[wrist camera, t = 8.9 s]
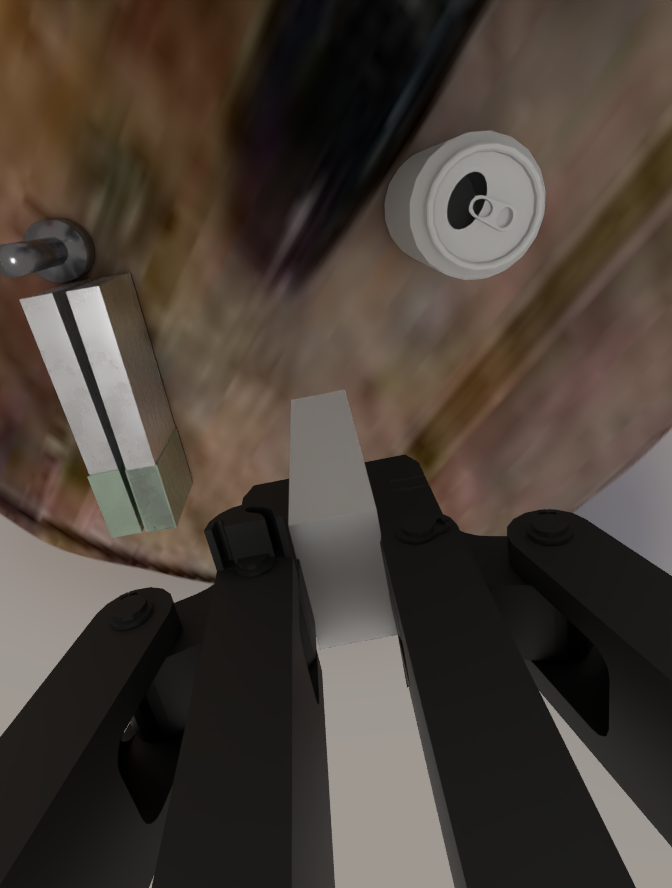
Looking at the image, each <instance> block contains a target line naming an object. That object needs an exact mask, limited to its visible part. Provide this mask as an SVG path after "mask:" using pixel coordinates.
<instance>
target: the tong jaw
mask: <svg viewBox="0 0 672 888" xmlns="http://www.w3.org/2000/svg"><path fill="white" fill-rule="evenodd" d="M66 294H67V297H68V300H69V303H70V306H71V308H72V311H73V314H74V317H75V320H76V323H77V326H78V329H79V332H80V335H81V338H82V341H83V344H84V347H85V350H86V353H87V356H88V359H89V362H90V364H91V367H92V370H93V373H94V376H95V379H96V382H97V385H98V388H99V391H100V394H101V397H102V400H103V403H104V406H105V409H106V412H107V415H108V417H109V420H110V423H111V426H112V429H113V432H114V435H115V438H116V441H117V444H118V447H119V450H120V453H121V456H122V459H123V462H124V465H125V468H126V470H125V472H126V475H127V478H128V481H129V484H130V487H131V490H132V493H133V496H134V499H135V501H136V504H137V507H138V510H139V513H140V516H141V519H142V522H143V525H144V528H145V531H146V532H152V531H158V530H164V529H170V528H176V527H177V525H178V522H179V519H180V516H181V514H182V511H183V508H184V505H185V503H186V500H187V497H188V494H189V492H190V489H191V486H192V483H193V482H192V479H191V475H190V472H189V468H188V465H187V462H186V458H185V455H184V451H183V448H182V444H181V441H180V437H179V434H178V431H177V427H176V428H175V425H174V421H173V418H172V414H171V411H170V408H169V404H168V401H167V397H166V394H165V390H164V387H163V383H162V380H161V377H160V373H159V370H158V366H157V363H156V359H155V356H154V353H153V349H152V346H151V342H150V339H149V335H148V332H147V329H146V325H145V322H144V318H143V315H142V311H141V308H140V304H139V301H138V298H137V294H136V291H135V287H134V284H133V280H132V277H131V274H130V273H124V274H118V275H112V276H106V277H102V278H99V279H97V280H94V281H91V282H89V283H86V284H84V285H81V286H79V287H76V288H74V289H71V290H69V291H66Z"/></svg>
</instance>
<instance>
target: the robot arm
mask: <svg viewBox="0 0 672 888" xmlns="http://www.w3.org/2000/svg"><path fill="white" fill-rule="evenodd" d="M204 532H205V535H206V538H207V541H208V544H209V548H210V551H211V554H212V557H213V560H214V563H215V566H216V569H217V574H216V579H215V584H214V585H212V586H211V587H209V588H208V589H206V590H204V591H202V592H200V593H198V594H196V595H193V596H191V597H188V598H186V599H183V600H181V601H178V602H176V603H174V602H173V599H172V597H171V594H170V593H168V592H167V591H165V590H164V589H160V588H152V587H150V588H143V589H138V590H134V591H131V592H129V593H125V594H123V595H121V596H119V597H118V598H116V599H115V600H113V601H111V602H110V603H108V604H107V605H106V606H105V607H104V608H103V609H102V610H100V611H99V612H98V613H97V614H96V616H95V617H94V618H93V619H92V621H91V622H90V623H89V624H88V626H87V627H86V628H85V630H84V631H83V632H82V633H81V635H80V636H79V637H78V638H77V640H76V641H75V642H74V644H73V645H72V646H71V647H70V649H69V650H68V651H67V653H66V654H65V655H64V656H63V658H62V659H61V660H60V662H59V663H58V664H57V665H56V667H55V668H54V669H53V670H52V672H51V673H50V674H49V676H48V677H47V678H46V679H45V681H44V682H43V683H42V685H41V686H40V687H39V688H38V690H37V691H36V692H35V693H34V695H33V696H32V697H31V699H30V700H29V701H28V702H27V704H26V705H25V706H24V707H23V709H22V710H21V711H20V713H19V714H18V715H17V716H16V718H15V719H14V720H13V722H12V723H11V724H10V725H9V727H8V728H7V729H6V731H5V732H4V733H3V734H2V736H1V737H0V888H149V886H150V883H151V881H152V879H153V876H154V879H153V884H152V888H335V880H334V864H333V847H332V830H331V814H330V798H329V780H328V764H327V747H326V731H325V714H324V698H323V681H322V670H321V666H320V661H319V658H318V654H317V650H316V637H317V641H318V645H319V649H325V648H331V647H336V646H341V645H346V644H352V643H357V642H362V641H367V640H373V639H377V638H383V637H388V636H393V635H398V638H399V644H400V650H401V655H402V661H403V667H404V672H405V678H406V683H407V687H409V690H410V694H411V699H412V703H413V707H414V712H415V716H416V721H417V725H418V730H419V734H420V738H421V742H422V747H423V751H424V756H425V760H426V764H427V769H428V773H429V778H430V782H431V786H432V791H433V795H434V799H435V804H436V808H437V812H438V816H439V821H440V825H441V829H442V834H443V838H444V843H445V847H446V852H447V856H448V860H449V865H450V869H451V873H452V878H453V882H454V887H455V888H636V887H635V885H634V883H633V881H632V879H631V877H630V875H629V873H628V871H627V869H626V867H625V865H624V863H623V861H622V859H621V857H620V854H619V853H618V850H617V848H616V847H615V845H614V842H613V840H612V839H611V836H610V834H609V832H608V830H607V828H606V826H605V824H604V822H603V820H602V818H601V816H600V814H599V812H598V810H597V808H596V806H595V804H594V802H593V800H592V798H591V796H590V794H589V792H588V790H587V787H586V786H585V783H584V781H583V779H582V777H581V775H580V773H579V771H578V769H577V767H576V765H575V763H574V761H573V759H572V757H571V755H570V753H569V751H568V749H567V747H566V745H565V743H564V741H563V739H562V737H561V735H560V733H559V731H558V729H557V727H556V725H555V723H554V721H553V719H552V716H551V715H550V712H549V710H548V708H547V707H546V704H545V702H544V701H543V698H542V696H541V694H540V692H541V693H542V694H543V696H544V697H545V698H546V699H547V700H548V702H549V703H550V704H551V705H552V706H553V707H554V709H555V710H556V711H557V712H558V713H559V715H560V716H561V717H562V718H563V719H564V720H565V722H566V723H567V724H568V725H569V726H570V728H571V729H572V730H573V731H574V732H575V733H576V735H577V736H578V737H579V738H580V739H581V741H582V742H583V743H584V744H585V745H586V746H587V748H588V749H589V750H590V751H591V752H592V753H593V755H594V756H595V757H596V758H597V759H598V761H599V762H600V763H601V764H602V765H603V766H604V768H605V769H606V770H607V771H608V772H609V773H610V775H611V776H612V777H613V778H614V779H615V781H616V782H617V783H618V784H619V785H620V786H621V788H622V789H623V790H624V791H625V792H626V794H627V795H628V796H629V797H630V798H631V799H632V801H633V802H634V803H635V804H636V805H637V807H638V808H639V809H640V810H641V811H642V812H643V814H644V815H645V816H646V817H647V818H648V820H649V821H650V822H651V823H652V824H653V825H654V827H655V828H656V829H657V830H658V831H659V833H660V834H661V835H662V836H663V837H664V838H665V840H666V841H667V842H668V843H669V844H670V845H671V847H672V576H671V575H669V574H668V573H666V572H665V571H663V570H662V569H660V568H658V567H657V566H656V565H654V564H652V563H651V562H650V561H648V560H646V559H645V558H643V557H642V556H640V555H639V554H637V553H636V552H634V551H633V550H631V549H630V548H628V547H627V546H625V545H623V544H622V543H621V542H619V541H618V540H616V539H615V538H613V537H612V536H610V535H609V534H607V533H606V532H604V531H603V530H601V529H599V528H598V527H597V526H595V525H594V524H592V523H591V522H589V521H588V520H586V519H584V518H582V517H580V516H578V515H576V514H573V513H570V512H565V511H560V510H552V509H548V510H546V509H545V510H537V511H532V512H528V513H524V514H522V515H520V516H519V517H517V518H515V519H513V521H512V522H511V523H510V524H509V526H508V527H507V536H478V535H472V534H468V533H464V532H462V531H460V530H459V528H458V526H457V524H456V523H455V522H454V521H453V520H452V519H451V518H450V517H448V516H446V515H443V514H442V511H441V509H440V507H439V505H438V503H437V501H436V499H435V497H434V494H433V492H432V490H431V488H430V486H429V485H428V482H427V480H426V477H425V476H424V473H423V471H422V469H421V467H420V465H419V462H417V461H415V460H413V459H412V458H410V457H408V456H407V455H400V456H395V457H390V458H385V459H380V460H375V461H369V462H364V460H363V456H362V452H361V448H360V445H359V441H358V437H357V433H356V429H355V426H354V422H353V418H352V414H351V410H350V407H349V403H348V399H347V395H346V391H345V389H344V390H339V391H334V392H329V393H324V394H319V395H314V396H308V397H303V398H298V399H293V400H291V427H290V473H289V479H285V480H280V481H275V482H270V483H265V484H259V485H254V486H253V487H252V488H251V490H250V491H249V492H248V493H247V494H246V495H245V497H244V498H243V502H242V505H240V506H237V507H233V508H231V509H229V510H227V511H225V512H223V513H221V514H219V515H217V516H216V517H215V518H214V519H213V520H211V521H210V522H209V523H208V525H207V527H206V528H205V530H204ZM539 691H540V692H539ZM129 722H130V724H129ZM128 724H129V725H128ZM127 726H128V727H127ZM126 728H127V729H126ZM125 729H126V731H125ZM124 731H125V732H124Z"/></svg>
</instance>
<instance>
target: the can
mask: <svg viewBox="0 0 672 888" xmlns="http://www.w3.org/2000/svg"><path fill="white" fill-rule="evenodd" d="M545 194H546V191H545V186H544V182H543V178H542V173H541V169H540V167H539V166H538V164H537V163H536V161H535V159H534V158H533V156H532V155H531V153H530V151H529V150H528V149H527V148H525V147H524V146H523V145H522V144H520V143H519V142H518V141H516V140H515V139H514V138H513V137H511V136H508V135H504V134H501V133H497V132H494V131H491V130H490V131H477V132H467V133H465V134H462V135H460V136H457V137H455V138H452V139H450V140H447V141H445V142H442V143H440V144H437V145H435V146H432V147H430V148H427V149H425V150H423V151H421V152H419V153H416V154H414V155H412V156H411V157H410V158H409V159H408V160H407V161H406V162H404V163H403V164H402V165H401V166H400V167H399V168H398V170H397V172H396V173H395V175H394V177H393V178H392V180H391V182H390V183H389V186H388V190H387V194H386V198H385V202H384V203H385V221H386V224H387V227H388V230H389V233H390V236H391V238H392V239H393V240H394V242H395V243H396V244H397V246H398V247H399V248H400V250H401V251H403V252H404V253H406V254H407V255H409V256H410V257H412V258H413V259H415V260H417V261H419V262H421V263H423V264H425V265H427V266H429V267H431V268H433V269H435V270H437V271H439V272H441V273H443V274H445V275H448V276H452V277H456V278H460V279H464V280H472V279H484V278H488V277H491V276H493V275H495V274H498V273H500V272H502V271H505V270H507V269H508V268H509V267H510V266H511V265H513V264H514V263H515V262H516V261H518V260H519V259H520V258H521V257H522V256H523V255H524V254H525V253H526V251H527V250H528V248H529V247H530V245H531V244H532V242H533V241H534V240H535V238H536V237H537V234H538V231H539V228H540V225H541V222H542V220H543V217H544V210H545Z"/></svg>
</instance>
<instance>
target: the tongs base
mask: <svg viewBox="0 0 672 888" xmlns="http://www.w3.org/2000/svg"><path fill="white" fill-rule="evenodd" d="M94 260H95V248H94V244H93V241H92V239H91V237H90V236H89V234H88V233H87V232H86V230H85V229H84V228H82V227H81V226H80V225H79V224H77V223H75V222H73V221H71V220H68V219H46V220H41V221H38V222H36V223H34V224H33V225H31V226H30V227H29V228H28V230H27V231H26V233H25V235H24V239H23V242H16V243H9V244H3V245H0V273H1V274H2V275H4V276H6V277H10V278H16V277H19V276H23V275H27V274H30V273H34V272H35V273H36V274H38V275H39V276H40V277H42V278H44V279H46V280H48V281H52V282H57V283H62V282H68V281H71V280H74V279H76V278H79V277H81V276H83V275H85V274H86V273H87V272H88V271H89V270H90V269H91V267H92V266H93V263H94ZM89 282H91V279H86V280H81V281H76V282H71V283H66V284H62V285H59V286H56V287H53V288H51V289H48V290H45V291H42V292H39V293H37V294H34V295H31V296H28V297H25V298H23V299H20V302H21V305H22V307H23V310H24V312H25V315H26V317H27V320H28V322H29V325H30V327H31V330H32V332H33V335H34V337H35V340H36V342H37V345H38V347H39V350H40V352H41V355H42V357H43V360H44V362H45V365H46V367H47V370H48V372H49V375H50V377H51V380H52V382H53V385H54V387H55V390H56V392H57V395H58V397H59V400H60V402H61V405H62V407H63V410H64V412H65V415H66V417H67V420H68V422H69V425H70V427H71V430H72V432H73V435H74V437H75V440H76V442H77V445H78V447H79V450H80V452H81V455H82V457H83V460H84V462H85V465H86V467H87V470H88V472H89V475H88V476H87V477H88V480H89V482H90V485H91V487H92V490H93V492H94V495H95V497H96V500H97V502H98V505H99V507H100V510H101V512H102V515H103V517H104V519H105V522H106V524H107V527H108V529H109V532H110V534H111V537H112V538H114V537H119V536H125V535H130V534H135V533H140V532H142V531H143V529H144V525H143V522H142V519H141V516H140V513H139V510H138V507H137V504H136V501H135V499H134V496H133V493H132V490H131V487H130V484H129V481H128V478H127V475H126V472H125V470H126V468H125V465H124V462H123V459H122V456H121V453H120V450H119V447H118V444H117V441H116V438H115V435H114V432H113V429H112V426H111V423H110V420H109V417H108V415H107V412H106V409H105V406H104V403H103V400H102V397H101V394H100V391H99V388H98V385H97V382H96V379H95V376H94V373H93V370H92V367H91V364H90V362H89V359H88V356H87V353H86V350H85V347H84V344H83V341H82V338H81V335H80V332H79V329H78V326H77V323H76V320H75V317H74V314H73V311H72V308H71V306H70V303H69V300H68V297H67V294H66V291H69V290H71V289H74V288H76V287H79V286H81V285H84V284H86V283H89Z"/></svg>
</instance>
